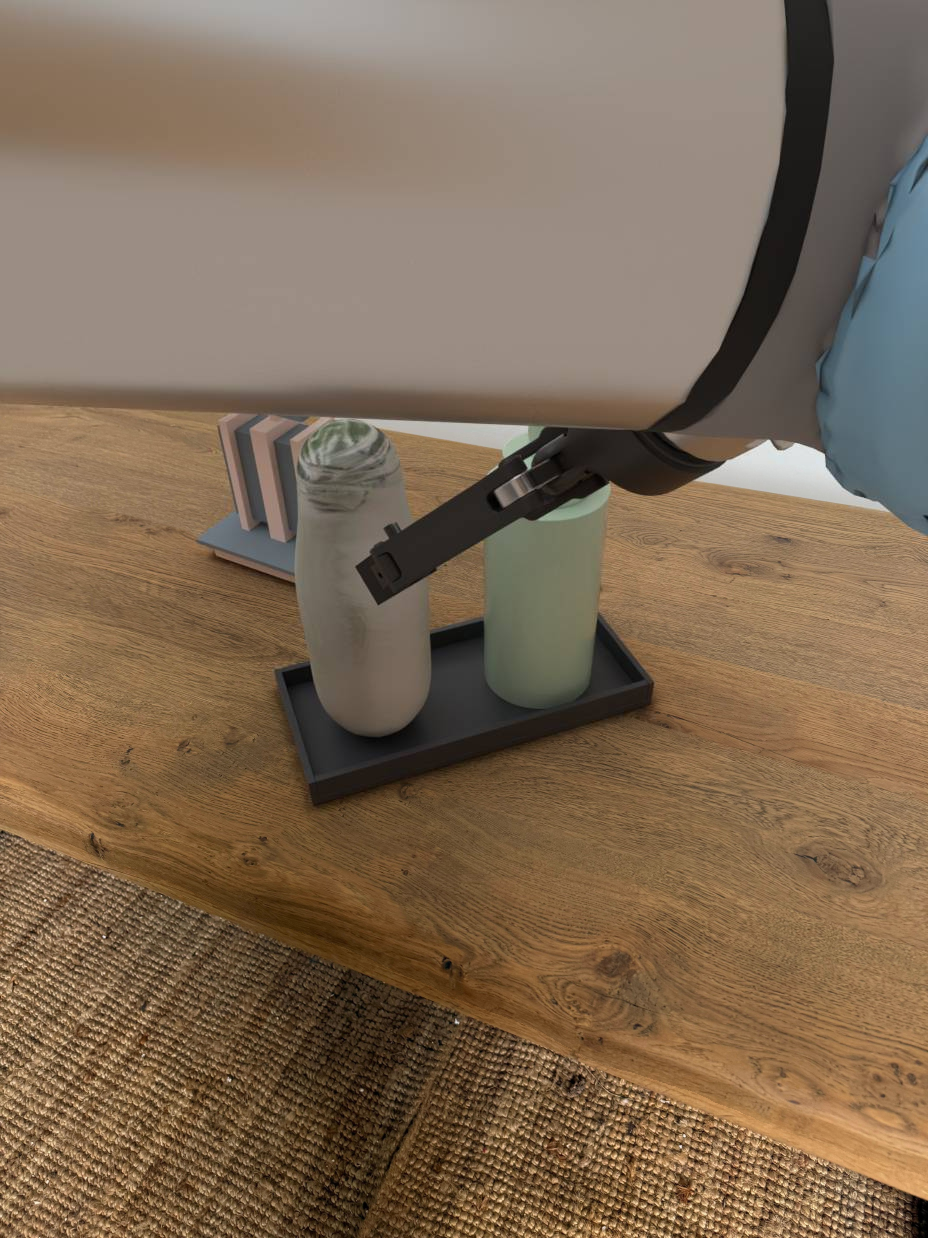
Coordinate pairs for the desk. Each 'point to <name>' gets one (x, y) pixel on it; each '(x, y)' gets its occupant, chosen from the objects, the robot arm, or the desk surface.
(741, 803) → the desk surface
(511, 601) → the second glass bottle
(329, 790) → the tray
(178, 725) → the desk surface
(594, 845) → the desk surface
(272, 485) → the woven storage basket
